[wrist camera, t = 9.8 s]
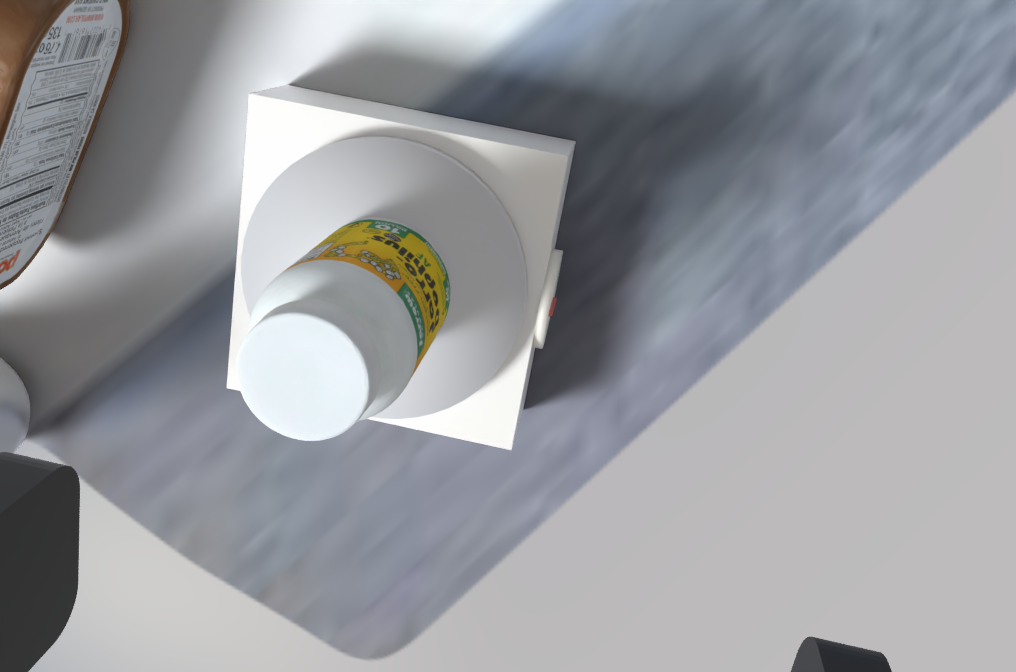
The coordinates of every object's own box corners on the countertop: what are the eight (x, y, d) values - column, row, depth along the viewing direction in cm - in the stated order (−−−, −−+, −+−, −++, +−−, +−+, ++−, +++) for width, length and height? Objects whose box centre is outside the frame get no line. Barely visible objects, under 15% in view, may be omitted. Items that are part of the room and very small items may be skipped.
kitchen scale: (286, 84, 39) (240, 95, 35) (589, 143, 38) (582, 162, 34) (262, 354, 43) (218, 395, 39) (535, 413, 42) (522, 462, 38)
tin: (100, -65, 38) (-41, -82, 30) (170, -24, 38) (48, -30, 30) (-12, 250, 43) (-157, 305, 36) (50, 285, 44) (-81, 347, 36)
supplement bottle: (288, 265, 36) (172, 351, 27) (396, 185, 35) (310, 249, 26) (375, 375, 37) (291, 493, 28) (483, 302, 36) (430, 403, 27)
